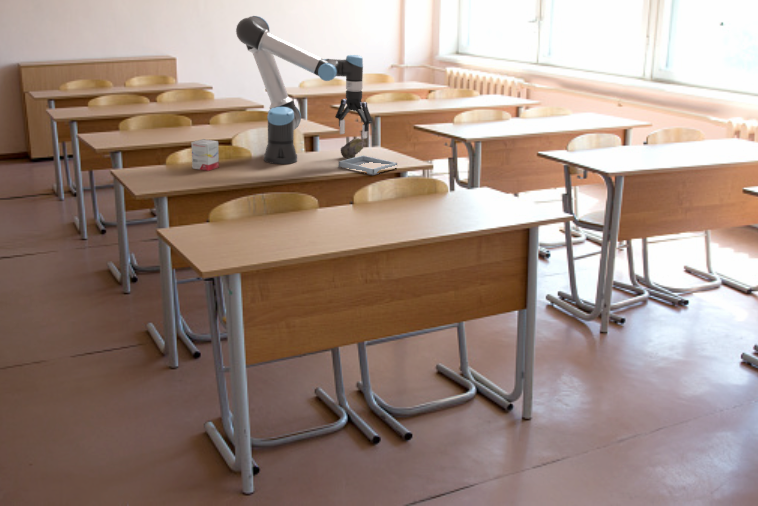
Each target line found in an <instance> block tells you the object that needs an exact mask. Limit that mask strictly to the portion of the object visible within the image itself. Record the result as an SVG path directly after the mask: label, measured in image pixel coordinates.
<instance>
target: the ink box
mask: <svg viewBox="0 0 758 506" xmlns="http://www.w3.org/2000/svg"><path fill="white" fill-rule="evenodd" d="M190 143H191V163H192V164H191V165H192V169H195V170H201V171H212V170H214V169H218V168H220V160H219V159H220V158H219V141H218V140H211V139H205V138H202V139H199V140H195V141H191V142H190Z"/></svg>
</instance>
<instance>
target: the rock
mask: <svg viewBox="0 0 758 506" xmlns="http://www.w3.org/2000/svg"><path fill="white" fill-rule="evenodd" d="M364 147H365V144H364V139H362V138H360V137H357V138H352V139H351V140H350V141H349V142H347V143H346V144H344V146H341V148H340V154H341V156H342V157H344V158H345V159H350V158H355V157H356V155H358V153H361V152H362V150H363V149H364Z"/></svg>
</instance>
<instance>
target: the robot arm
mask: <svg viewBox="0 0 758 506" xmlns="http://www.w3.org/2000/svg"><path fill="white" fill-rule="evenodd" d="M235 32H236V37H237V39H238V40H239V41H240V42H241V43H242V44H243V45H245V47H246V49H247V52H250V53H252V55H253V58H254V60H255V63H256V67H257V69H258V72H259V74H260V77H261V79H262V82H263V85H264V88H265V90H266V93H267V96H268V99H269V101H270V105H269V110H268V111H267V116H266V117H267V145H266V149H265V153H264V155H263V161H264V162H266V163H270V164H275V165H276V164H277V165H288V164H289V165H290V164H294V163H297V162H298V154H297V153H296V147H295V145H294V144H295V143H294V139H295V138H294V132H295V130H296V129H298V127H299V125H300V123H301V121H302V115H301V111H300V110H299V108H298V107H297V106H296V104H295V102H294V99H293V98H291V97H289V93H288V92H287V88H286V87H285V84H284V81H283V78H282V75H281V73H280V69H279V67H278V63H277V62H276V59H275V57H278V58H280V59H282V60H284V61H287V62H289V63H291V64H293V65H295V66H296V67H298V68H301V69H303V70H304V71H307V72H310V73H311V74H313V75H315V76H317V77H319V78H320V79H321V81H324V82H329V81H332V80H334V79H335V78H336V77H344V78H345V89H346V91H345V98H342V99H340V103H339V106H338V109H337V111H336V113H335V117H334V118H335V119H337V120H338V127H339V135H344V134H345V133H346V132H345V130H346V120H345V117H346V116H347V115H348V113H349V112H350V111H354V112H356V113H357V114H358V116H359V118H360V119H361V121H362V122H363V124H362V126H361V127H362V129H361V130H362V131H361V132H362V133H361V134H362V135H361V139H363V140H365V139H367V138H368V132H369V129H370V128H369V127H370V126H369V125H370V124H373V119H372V116H371V113H370V111H369V108H368V103H367V101H362V99H363V91H362V90H363V78H364V77H363V75H364V74H363V73H364V63H363V62H364V61H363V57H362V55H358V54H349V55H346V58H345V59H335V58H321V57H320V56H317V55H316V54H313V53H312V52H309V51H307V50H306V49H305V50H304V49H303V48H300V47H298V46H297V45H295V44H292V43H291V42H289V41H286V40H284V39H281V38H279V37H278V36H276V35H273V34H272V33H270V26H269V23H268V22H267V20H265V18H263V17H261V16H257V15H252V16H248V17H245V18H243V19H241V20H240V21H239V22H238V23H237V25H236V28H235Z"/></svg>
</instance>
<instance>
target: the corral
mask: <svg viewBox="0 0 758 506" xmlns="http://www.w3.org/2000/svg"><path fill="white" fill-rule="evenodd" d="M369 162H373V163H381V164H389V165H385V166H381V167H377V168H374V169H372V168H367V167H363V166H362V165H361V164H363V163H364V164H365V163H369ZM359 165H361V166H359ZM365 165H366V164H365ZM395 165H397V166H398V162H394V161H390V160H386V159H381V158H376V157H373V156H372V157H371V156H367V155H359V156H355V158H345V159H343V160H339V161H338V168H340V167H342V168H341V169H344V168H349V169H356V170H362V171H366V172H367V174H366V175H370V176H375V175H379V173H377V172H378V171H379V170H381V169H385V168H388V167H392V166H395Z"/></svg>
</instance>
